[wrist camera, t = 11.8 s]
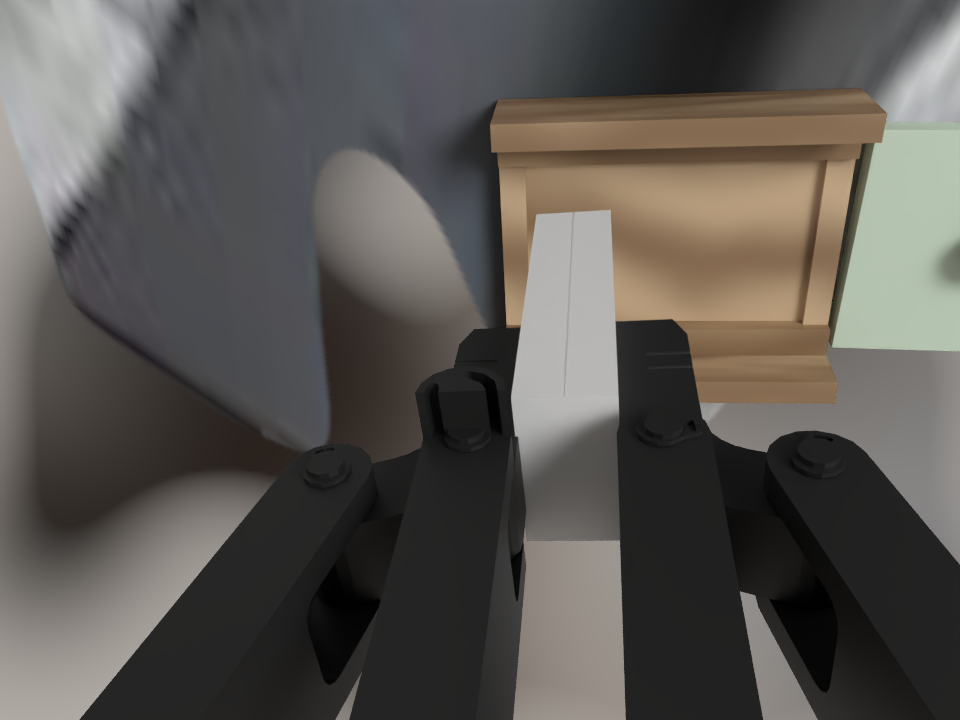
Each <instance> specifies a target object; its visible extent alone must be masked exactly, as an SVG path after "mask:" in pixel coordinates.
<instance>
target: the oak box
mask: <svg viewBox="0 0 960 720" xmlns="http://www.w3.org/2000/svg"><path fill="white" fill-rule="evenodd" d="M886 117H887V113H886V112H885V111H884V110H883V109H882V108H881V107H880V106H879V105H878V104H877V103H876V102H874V101H873V100H872V99H871V98H870V97H869V96H868V95H867V94H866V93H865V92H864V91H863V90H862V89H861V88H851V89H820V90H788V91H757V92H725V93H694V94H662V95H630V96H599V97H567V98H536V99H504V100H498V101H497V104H496V108H495V111H494V114H493V117H492V120H491V123H490V133H491V152H492V153H493V152H497V156H498V167H499V176H500V197H501V218H502V239H503V260H504V281H505V302H506V323H507V326H506V328H518V327H521V322H522V315H523V308H524V300H525V293H526V286H527V279H528V272H529V264H530V257H531V250H532V243H533V236H534V228H535V221H536V214H550V213H566V212H583V211H599V210H611V229H612V252H613V276H614V300H615V321H638V320H662V319H673V320H674V321H675V322H676V323H677V324H678V325H679V326H680V327H681V328H682V329H683V330H684V331H685V332H686V333H687V335H688V341H689V347H690V354H691V358H692V364H693V369H694V375H695V381H696V386H697V392H698V398H699V402H709V403H830V404H831V403H832V404H834V403H835V398H836V393H837V387H838V381H837V379H836V376H835V374H834V372H833V370H832V368H831V366H830V364H829V361H828V359H827V357H826V352H827V346H828V341H829V335H830V328H829V326H828V321H829V316H830V310H831V304H832V298H833V292H834V286H835V280H836V274H837V268H838V262H839V256H840V250H841V244H842V238H843V232H844V226H845V220H846V214H847V208H848V202H849V196H850V190H851V184H852V178H853V172H854V166H855V160H856V159H859V158H860V152H861V146H862V143H882V139H883V134H884V128H885V123H886Z"/></svg>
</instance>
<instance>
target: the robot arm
mask: <svg viewBox="0 0 960 720" xmlns="http://www.w3.org/2000/svg"><path fill="white" fill-rule="evenodd" d="M415 394H416V400H417V405H418V411H419V417H420V422H421V428H422V433H423V442H422V446H421V448H419V449H418V450H415V451H413V452H411V453H409V454H407V455H404V456H401V457H397V458H394V459H390V460H385V461H381V462H377V463H373V464H372V463H371V458H370V455H369V454H368V453H366V452H365V451H364V450H363V449H362V448H359V447H357V446H353V445H350V444H329V445H324V446H320V447H316V448H313V449H311V450H309V451H307V452H305V453H303V454H301V455H299V456H298V457H297V458H296V459H295V460H294V461H292V462H291V463H290V464H289V465H288V466H287V467H286V468H285V470H284V471H283V472H282V473H281V474H280V476H279V477H278V478H277V479H276V481H275V482H274V483H273V484H272V485H271V487H270V488H269V489H268V490H267V492H266V493H265V494H264V495H263V496H262V498H261V499H260V500H259V501H258V503H257V504H256V505H255V506H254V508H253V509H252V510H251V511H250V512H249V514H248V515H247V516H246V517H245V518H244V520H243V521H242V522H241V523H240V524H239V526H238V527H237V528H236V529H235V531H234V532H233V533H232V534H231V536H230V537H229V538H228V539H227V541H226V542H225V543H224V544H223V545H222V546H221V548H220V549H219V550H218V551H217V553H216V554H215V555H214V556H213V557H212V559H211V560H210V561H209V562H208V564H207V565H206V566H205V567H204V568H203V570H202V571H201V572H200V573H199V575H198V576H197V577H196V578H195V580H194V581H193V582H192V583H191V584H190V586H189V587H188V588H187V589H186V590H185V592H184V593H183V594H182V595H181V596H180V598H179V599H178V600H177V601H176V603H175V604H174V605H173V606H172V607H171V609H170V610H169V611H168V613H167V614H166V615H165V616H164V617H163V618H162V620H161V621H160V622H159V623H158V625H157V626H156V627H155V628H154V630H153V631H152V632H151V633H150V634H149V636H148V637H147V638H146V639H145V640H144V642H143V643H142V644H141V645H140V647H139V648H138V649H137V650H136V651H135V653H134V654H133V655H132V656H131V658H130V659H129V660H128V661H127V662H126V664H125V665H124V666H123V667H122V669H121V670H120V671H119V672H118V673H117V675H116V676H115V677H114V678H113V679H112V681H111V682H110V683H109V684H108V686H107V687H106V688H105V689H104V691H103V692H102V693H101V694H100V695H99V697H98V698H97V699H96V700H95V701H94V703H93V704H92V705H91V706H90V708H89V709H88V710H87V711H86V712H85V714H84V715H83V716H82V717H81V719H80V720H335V719H336V717H337V715H338V714H339V712H340V710H341V708H342V706H343V705H344V703H345V701H346V699H347V697H348V695H349V694H350V692H351V690H352V688H353V686H354V685H355V683H356V681H357V679H358V677H359V675H360V674H361V672H362V674H361V677H360V681H359V685H358V689H357V693H356V696H355V701H354V704H353V708H352V712H351V715H350V719H349V720H513V713H514V702H515V690H516V678H517V666H518V654H519V643H520V631H521V618H522V607H523V595H524V583H525V571H526V562H525V552H524V544H523V538H524V528H526V538H527V541H575V540H576V541H584V540H585V541H587V540H589V541H595V540H620V548H621V549H620V550H621V582H622V611H623V644H624V674H625V705H626V706H625V707H626V720H763V717H762V711H761V706H760V701H759V695H758V689H757V684H756V678H755V673H754V668H753V662H752V656H751V651H750V645H749V640H748V635H747V629H746V623H745V618H744V612H743V607H742V601H741V596H740V591H741V592H745V593H749V594H753V595H755V596H756V599H757V603H758V607H759V609H760V611H761V613H762V615H763V617H764V619H765V621H766V622H767V624H768V626H769V628H770V630H771V632H772V634H773V636H774V637H775V639H776V641H777V643H778V645H779V647H780V649H781V651H782V653H783V655H784V656H785V658H786V660H787V662H788V664H789V666H790V668H791V670H792V672H793V673H794V675H795V677H796V679H797V681H798V683H799V685H800V686H801V689H802V691H803V692H804V694H805V696H806V698H807V700H808V702H809V704H810V706H811V708H812V709H813V711H814V713H815V715H816V717H817V719H818V720H960V565H959V563H958V562H957V561H956V560H955V559H954V557H953V556H952V555H951V554H950V552H949V551H948V550H947V549H946V548H945V546H944V545H943V544H942V543H941V542H940V541H939V539H938V538H937V537H936V536H935V535H934V533H933V532H932V531H931V530H930V529H929V527H928V526H927V525H926V524H925V523H924V521H923V520H922V519H921V518H920V517H919V515H918V514H917V513H916V512H915V511H914V509H913V508H912V507H911V506H910V505H909V503H908V502H907V501H906V500H905V499H904V497H903V496H902V495H901V494H900V493H899V491H898V490H897V489H896V488H895V487H894V485H893V484H892V483H891V482H890V481H889V479H888V478H887V477H886V476H885V475H884V473H883V472H882V471H881V470H880V469H879V467H878V466H877V465H876V464H875V463H874V461H873V460H872V459H871V458H870V457H869V456H868V454H867V453H866V452H865V451H864V450H862V449H861V448H860V447H859V446H857V445H856V444H855V443H854V442H853V441H850V440H848V439H845V438H843V437H841V436H838V435H836V434H831V433H825V432H820V431H798V432H794V433H791V434H787V435H784V436H781V437H779V438H778V439H777V440H776V441H774V442H773V443H772V444H771V445H770V446H769V449H768V451H767V453H765V452H761V451H755V450H750V449H746V448H742V447H738V446H734V445H732V444H730V443H728V442H725V441H723V440H721V439H720V438H718V437H717V436H715V435H714V434H712V433H711V431H710V429H709V427H708V425H707V423H706V421H705V420H703V419H702V415H701V409H700V403H699V398H698V392H697V386H696V381H695V375H694V369H693V364H692V358H691V354H690V347H689V341H688V335H687V333H686V332H685V331H684V330H683V329H682V328H681V327H680V326H679V325H678V324H677V323H676V322H675V321H674V320H673V319H662V320H638V321H615V300H614V276H613V252H612V229H611V210H599V211H583V212H566V213H550V214H536V221H535V228H534V236H533V243H532V250H531V257H530V264H529V272H528V279H527V286H526V293H525V300H524V308H523V315H522V322H521V327H518V328H493V329H474V330H473V331H472V332H471V333H470V334H469V335H468V336H467V337H466V338H465V339H464V340H463V341H462V343H461V344H460V345H459V348H458V352H457V356H456V360H455V365H454V368H452V369H447V370H445V371H442V372H439V373H436V374H434V375H432V376H431V377H429V378H428V379H426V380H425V381H424V382H422V383H421V385H420V386H419V388H418V389H417V391H416V392H415Z"/></svg>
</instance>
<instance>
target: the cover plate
mask: <svg viewBox="0 0 960 720" xmlns="http://www.w3.org/2000/svg"><path fill="white" fill-rule="evenodd" d="M828 326H829V328H830V335H829V342H830V345H831V346H832V347H834V348H866V349H899V350H900V349H901V350H933V351H960V122H886V123H885V128H884V134H883V139H882V143H866V144H865V149H864V154H863V159H862V164H861V168H860V173H859V178H858V183H857V188H856V193H855V198H854V203H853V207H852V212H851V217H850V222H849V227H848V232H847V237H846V241H845V246H844V251H843V256H842V261H841V266H840V271H839V276H838V280H837V285H836V287H835V288H834V292H833V298H832V304H831V310H830V316H829V321H828Z"/></svg>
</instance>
